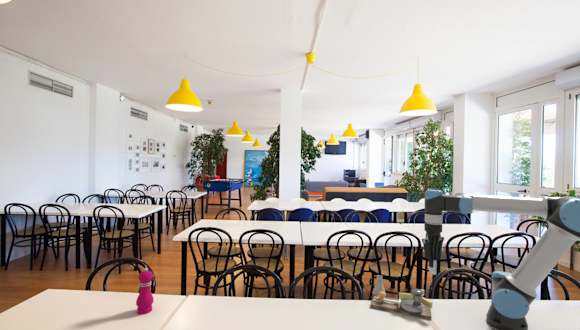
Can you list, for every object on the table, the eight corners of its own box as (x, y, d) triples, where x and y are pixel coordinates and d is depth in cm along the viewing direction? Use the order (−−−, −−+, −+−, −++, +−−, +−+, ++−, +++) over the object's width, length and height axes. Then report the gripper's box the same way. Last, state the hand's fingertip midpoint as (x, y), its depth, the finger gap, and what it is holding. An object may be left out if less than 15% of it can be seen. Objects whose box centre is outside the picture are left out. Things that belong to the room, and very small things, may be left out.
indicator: (400, 301, 150) (401, 291, 150) (400, 308, 143) (400, 298, 143) (378, 296, 154) (379, 287, 154) (377, 303, 147) (377, 294, 147)
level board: (430, 308, 147) (430, 303, 147) (431, 319, 136) (431, 314, 136) (374, 297, 157) (374, 292, 157) (370, 307, 146) (371, 302, 146)
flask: (386, 298, 157) (387, 279, 157) (372, 296, 159) (373, 277, 159) (385, 292, 164) (385, 274, 164) (371, 290, 166) (372, 273, 166)
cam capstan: (421, 301, 151) (422, 285, 151) (443, 313, 138) (444, 296, 138) (395, 305, 145) (396, 288, 145) (416, 319, 133) (416, 300, 133)
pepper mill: (132, 312, 135) (133, 268, 135) (146, 305, 142) (147, 264, 142) (142, 316, 132) (143, 271, 132) (156, 309, 138) (157, 266, 138)
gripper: (435, 220, 144) (434, 269, 144) (416, 222, 139) (416, 273, 138) (449, 223, 138) (449, 274, 138) (430, 225, 132) (430, 278, 132)
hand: (432, 273), depth 138 cm, fingers closed
